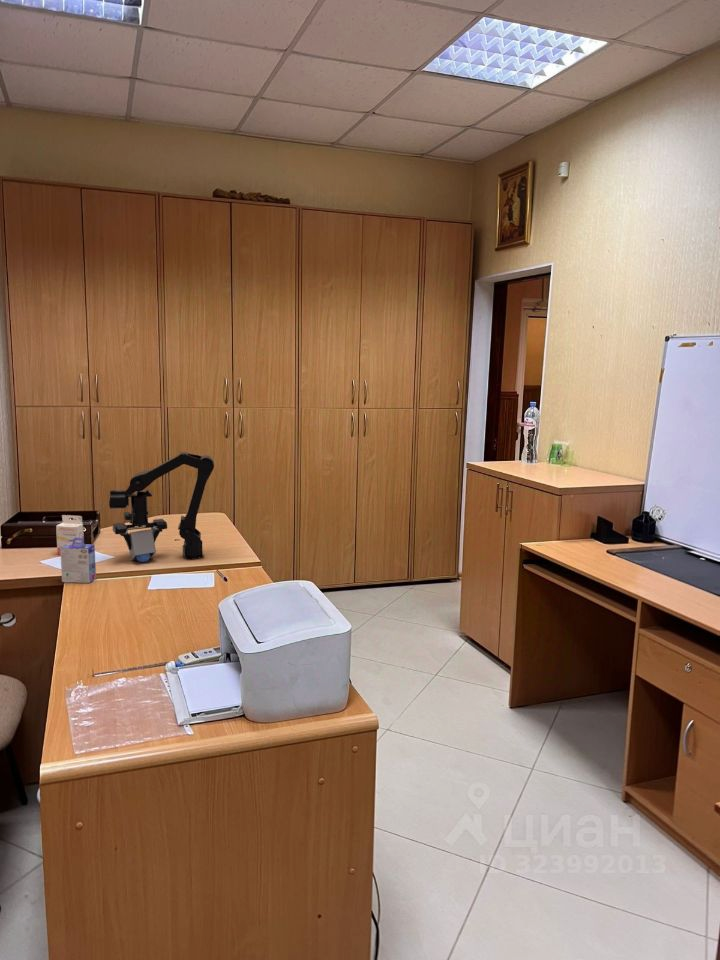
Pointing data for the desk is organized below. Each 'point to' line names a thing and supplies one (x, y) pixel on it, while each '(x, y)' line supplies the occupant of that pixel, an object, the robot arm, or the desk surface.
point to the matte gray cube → (142, 543)
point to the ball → (143, 557)
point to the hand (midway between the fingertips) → (140, 548)
